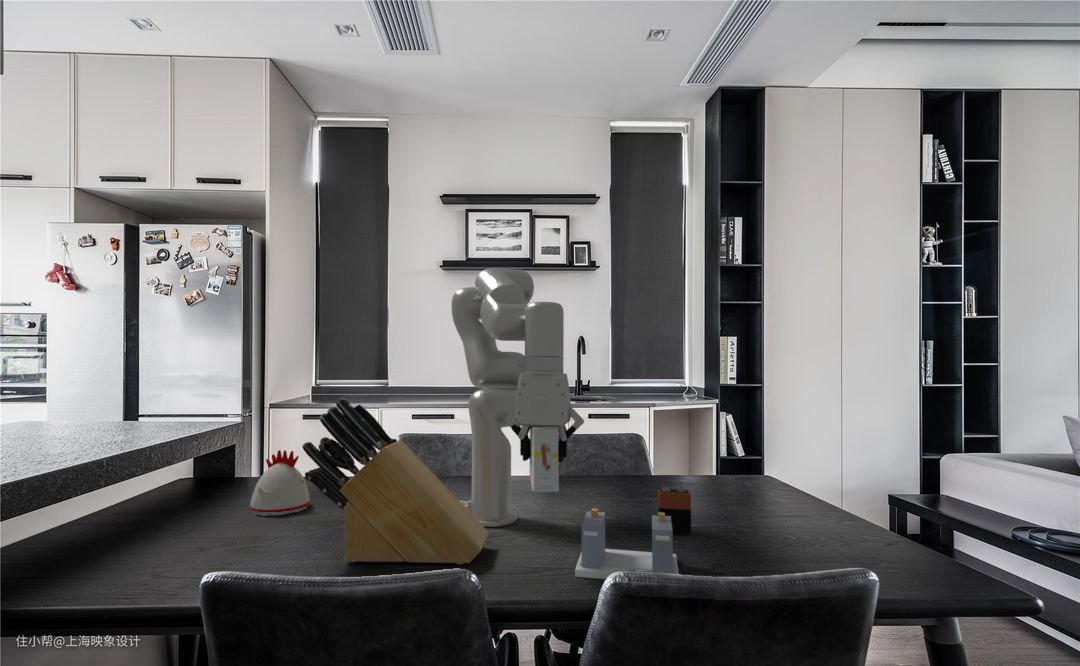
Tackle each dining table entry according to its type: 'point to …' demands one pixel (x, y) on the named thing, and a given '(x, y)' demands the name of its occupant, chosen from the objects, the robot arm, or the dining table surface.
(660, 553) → the board
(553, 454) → the ink box
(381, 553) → the knife block
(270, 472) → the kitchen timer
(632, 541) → the dining table surface
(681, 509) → the battery
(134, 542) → the dining table surface
